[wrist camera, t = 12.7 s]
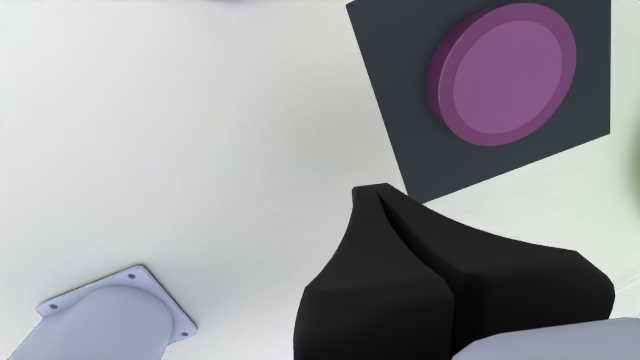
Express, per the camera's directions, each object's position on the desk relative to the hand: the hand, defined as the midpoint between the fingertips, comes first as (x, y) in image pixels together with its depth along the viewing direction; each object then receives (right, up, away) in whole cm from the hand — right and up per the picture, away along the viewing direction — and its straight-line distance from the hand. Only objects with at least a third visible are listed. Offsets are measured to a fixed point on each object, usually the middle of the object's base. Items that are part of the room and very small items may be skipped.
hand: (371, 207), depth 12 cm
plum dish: (+8, +7, +7) cm, 13 cm away
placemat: (+9, +8, +8) cm, 14 cm away
